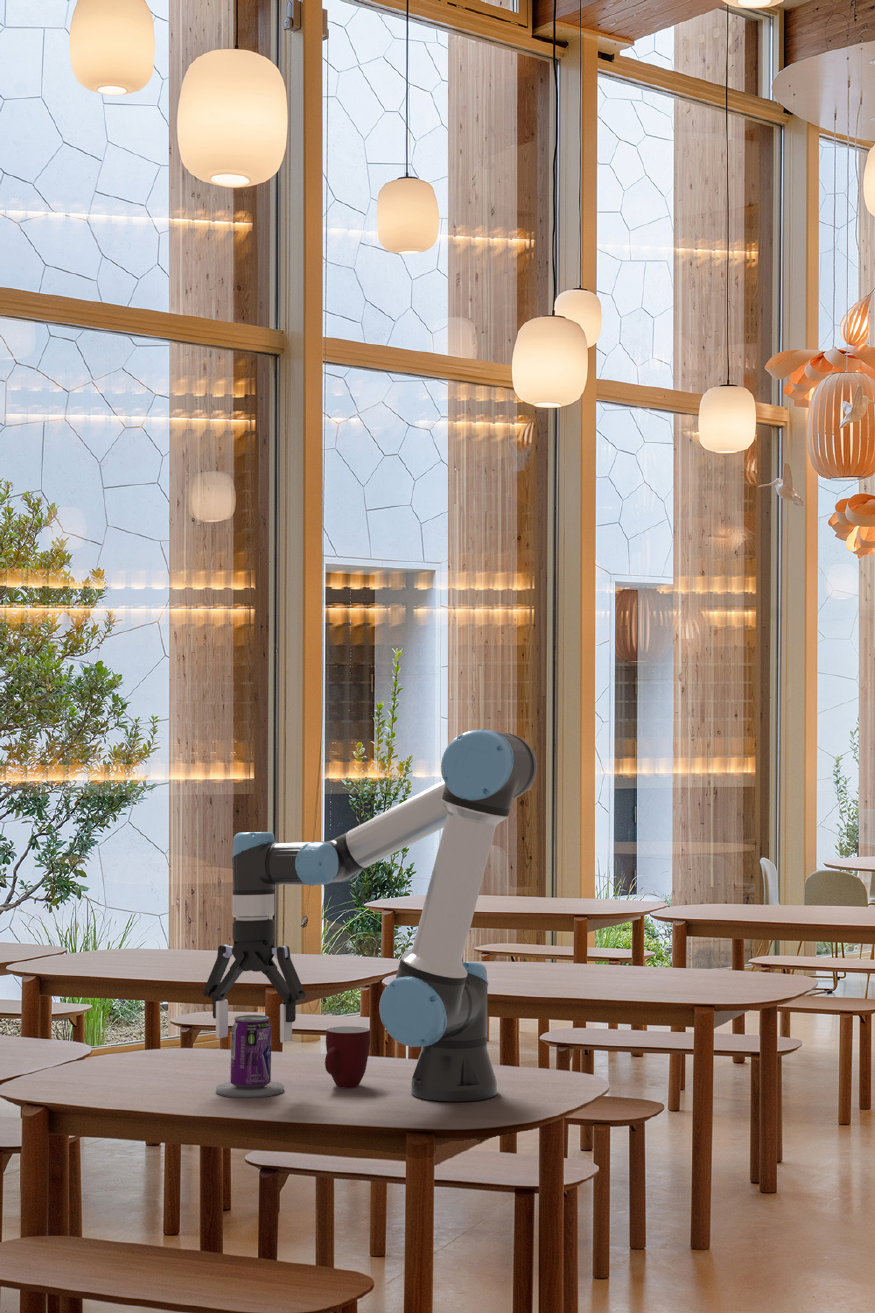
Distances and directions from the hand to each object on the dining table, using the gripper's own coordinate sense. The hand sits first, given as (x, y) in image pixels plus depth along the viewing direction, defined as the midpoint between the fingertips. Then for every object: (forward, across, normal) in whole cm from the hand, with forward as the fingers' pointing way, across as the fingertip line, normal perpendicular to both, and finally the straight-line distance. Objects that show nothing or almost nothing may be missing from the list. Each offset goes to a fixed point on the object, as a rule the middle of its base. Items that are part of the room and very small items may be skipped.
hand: (253, 1039), depth 249 cm
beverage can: (+8, +1, 0) cm, 8 cm away
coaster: (+9, +1, 0) cm, 9 cm away
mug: (+10, -12, -11) cm, 19 cm away
